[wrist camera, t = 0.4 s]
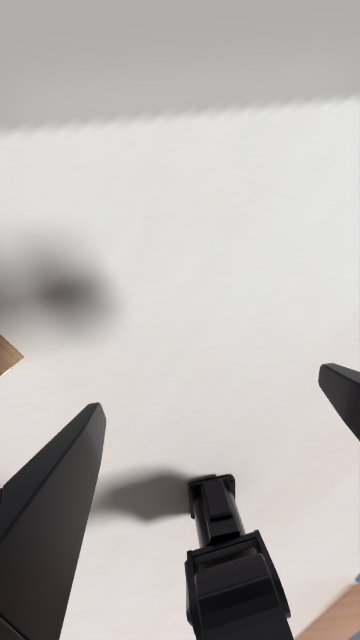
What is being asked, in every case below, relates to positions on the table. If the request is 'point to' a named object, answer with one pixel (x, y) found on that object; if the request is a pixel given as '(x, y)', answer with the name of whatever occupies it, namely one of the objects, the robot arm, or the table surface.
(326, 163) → the table surface
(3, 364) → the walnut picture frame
